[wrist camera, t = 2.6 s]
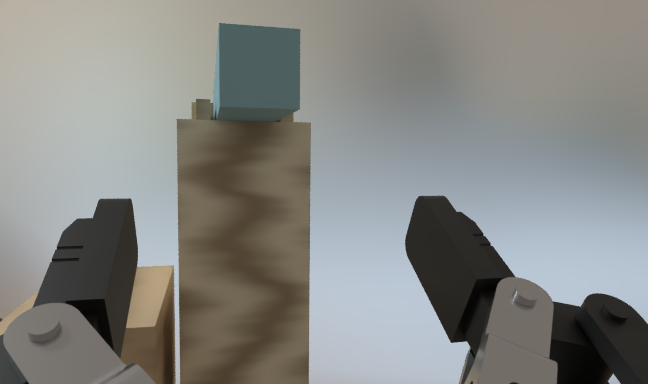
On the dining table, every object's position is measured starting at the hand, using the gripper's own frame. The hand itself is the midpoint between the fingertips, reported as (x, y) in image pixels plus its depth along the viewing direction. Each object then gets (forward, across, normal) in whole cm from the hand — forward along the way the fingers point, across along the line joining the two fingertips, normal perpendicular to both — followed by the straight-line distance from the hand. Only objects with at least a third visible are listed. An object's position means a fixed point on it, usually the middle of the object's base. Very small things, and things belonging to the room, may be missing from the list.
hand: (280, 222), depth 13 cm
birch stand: (+7, 0, +36) cm, 37 cm away
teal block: (+18, 0, +6) cm, 19 cm away
